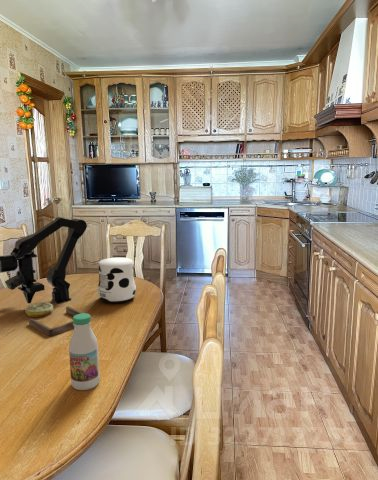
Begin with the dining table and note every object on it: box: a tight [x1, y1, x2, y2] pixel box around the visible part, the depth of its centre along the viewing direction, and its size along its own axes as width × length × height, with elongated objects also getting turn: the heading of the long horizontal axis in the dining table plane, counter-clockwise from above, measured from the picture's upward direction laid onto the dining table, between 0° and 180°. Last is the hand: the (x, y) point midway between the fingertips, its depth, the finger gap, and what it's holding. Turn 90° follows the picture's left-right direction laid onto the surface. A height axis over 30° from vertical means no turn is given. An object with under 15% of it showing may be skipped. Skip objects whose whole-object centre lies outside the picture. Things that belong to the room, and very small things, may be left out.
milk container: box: [97, 257, 137, 304], centre depth 167 cm, size 17×17×18 cm
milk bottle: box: [68, 312, 101, 391], centre depth 100 cm, size 8×8×20 cm
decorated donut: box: [24, 301, 54, 318], centre depth 152 cm, size 10×11×4 cm
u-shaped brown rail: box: [28, 305, 83, 338], centre depth 142 cm, size 17×16×2 cm
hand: (29, 303), depth 158 cm, fingers closed
